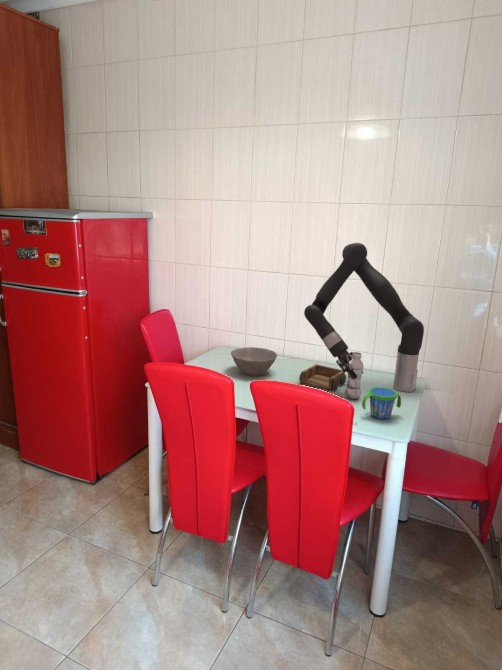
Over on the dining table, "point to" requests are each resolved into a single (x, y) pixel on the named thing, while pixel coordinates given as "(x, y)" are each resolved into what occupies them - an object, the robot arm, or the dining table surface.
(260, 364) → the ceramic bowl
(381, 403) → the snack cup
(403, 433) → the dining table surface
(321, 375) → the tray
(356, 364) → the grey ridged cylindrical piece
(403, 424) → the dining table surface
